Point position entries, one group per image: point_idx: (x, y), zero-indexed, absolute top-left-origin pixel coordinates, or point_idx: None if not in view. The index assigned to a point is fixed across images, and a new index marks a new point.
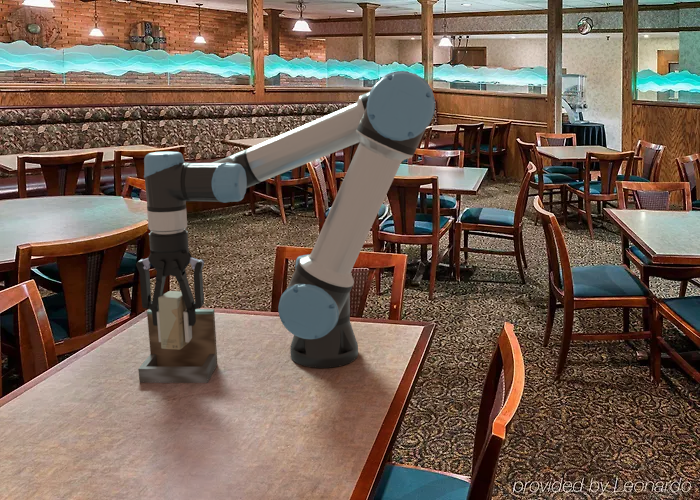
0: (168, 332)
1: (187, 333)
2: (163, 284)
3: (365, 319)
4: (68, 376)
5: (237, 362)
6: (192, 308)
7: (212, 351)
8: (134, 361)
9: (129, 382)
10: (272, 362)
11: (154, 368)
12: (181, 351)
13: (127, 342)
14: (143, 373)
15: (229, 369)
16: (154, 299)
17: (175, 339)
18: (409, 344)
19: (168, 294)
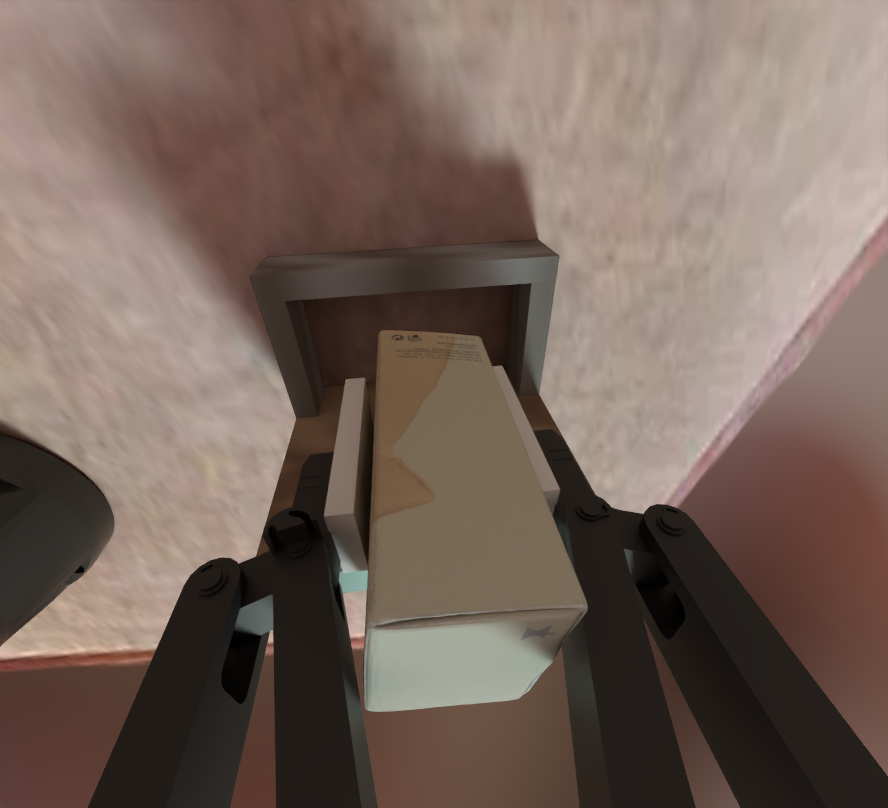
0: (447, 381)
1: (346, 408)
2: (584, 787)
3: (62, 663)
4: (787, 276)
5: (250, 427)
6: (271, 552)
7: (304, 423)
8: (585, 400)
9: (576, 239)
10: (126, 439)
11: (490, 264)
12: None
13: (619, 496)
14: (532, 251)
15: (246, 377)
16: (616, 587)
17: (403, 358)
18: None
19: (503, 663)
